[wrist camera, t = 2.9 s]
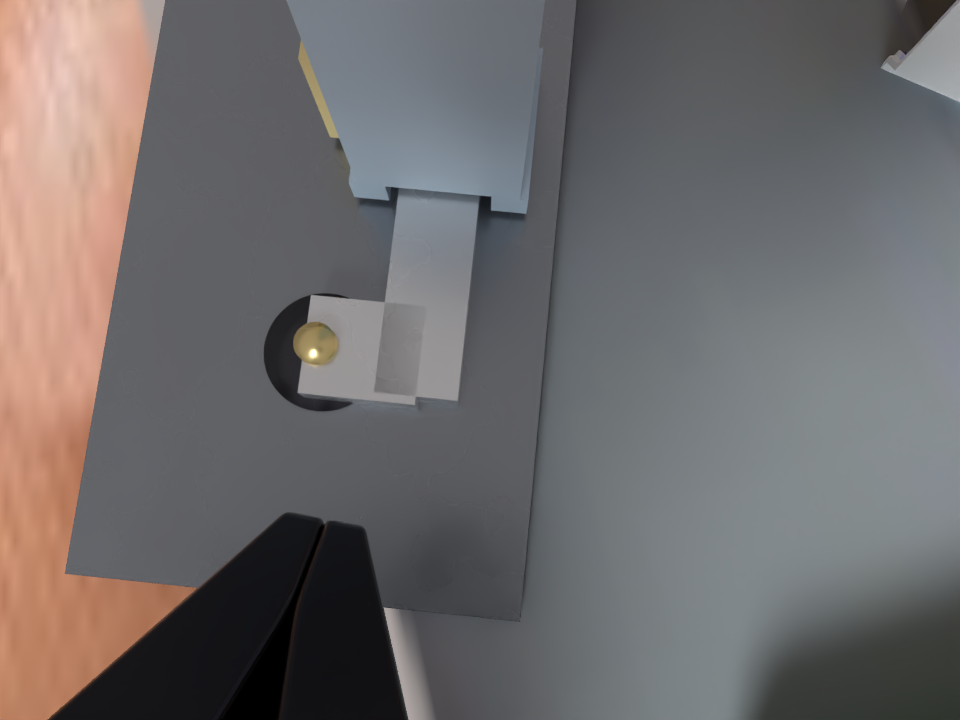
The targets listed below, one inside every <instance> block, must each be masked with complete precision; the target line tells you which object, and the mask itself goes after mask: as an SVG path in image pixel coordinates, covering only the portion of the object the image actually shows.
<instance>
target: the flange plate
mask: <svg viewBox="0 0 960 720" xmlns="http://www.w3.org/2000/svg"><path fill="white" fill-rule="evenodd" d="M576 1H577V0H545V5H544V13H543V21H542V29H541V37H540V45H539V48H543V54H542V64H541V75H540V85H539V95H538V106H537V116H536V126H535V137H534V147H533V157H532V168H531V178H530V188H529V199H528V206H527V212H526V214H523V213H513V212H503V211H492V210H491V197H490V196H480V195H470V194H459V193H449V192H439V191H428V190H418V189H407V188H397V187H391V192H390V200H379V199H368V198H358V197H354V195H353V193H352V190H351V188H350V185H349V175H350V165H349V162H348V160H347V157H346V155H345V152H344V149H343V147H342V144H341V142H340V139H339V138H333V137H330V136H329V133H328V131H327V128H326V126H325V123H324V121H323V118H322V116H321V114H320V111H319V109H318V106H317V104H316V101H315V99H314V96H313V94H312V91H311V89H310V87H309V84H308V82H307V79H306V77H305V74H304V72H303V69H302V67H301V64H300V62H299V60H298V56H299V49H300V43H301V37H300V35H299V32H298V30H297V27H296V24H295V22H294V19H293V17H292V14H291V11H290V9H289V6H288V4H287V1H286V0H165V6H164V12H163V17H162V23H161V29H160V34H159V40H158V46H157V51H156V57H155V63H154V69H153V74H152V80H151V86H150V91H149V97H148V103H147V108H146V114H145V120H144V126H143V131H142V137H141V143H140V148H139V154H138V160H137V165H136V171H135V177H134V183H133V188H132V194H131V200H130V205H129V211H128V217H127V222H126V228H125V234H124V239H123V245H122V251H121V257H120V262H119V268H118V274H117V279H116V285H115V291H114V296H113V302H112V308H111V314H110V319H109V325H108V331H107V336H106V342H105V348H104V353H103V359H102V365H101V371H100V376H99V382H98V388H97V393H96V399H95V405H94V410H93V416H92V422H91V428H90V433H89V439H88V445H87V450H86V456H85V462H84V467H83V473H82V479H81V484H80V490H79V496H78V502H77V507H76V513H75V519H74V524H73V530H72V536H71V541H70V547H69V553H68V559H67V564H66V570H65V574H73V575H82V576H92V577H101V578H111V579H120V580H130V581H139V582H149V583H158V584H168V585H177V586H187V587H196V588H198V587H200V586H201V585H202V584H203V583H204V582H205V581H206V580H208V579H209V578H210V577H211V576H212V575H213V574H214V573H216V572H217V571H218V570H219V569H220V568H221V567H222V566H224V565H225V564H226V563H227V562H228V561H229V560H230V559H232V558H233V557H234V556H235V555H236V554H237V553H238V552H239V551H241V550H242V549H243V548H244V547H245V546H246V545H247V544H249V543H250V542H251V541H252V540H253V539H254V538H255V537H257V536H258V535H259V534H260V533H261V532H262V531H263V530H265V529H266V528H267V527H268V526H269V525H270V524H271V523H273V522H274V521H275V520H276V519H277V518H278V517H279V516H281V515H282V514H284V513H286V512H294V513H300V514H305V515H310V516H315V517H319V518H321V519H322V520H323V522H324V524H325V523H326V522H327V521H329V520H336V521H342V522H347V523H352V524H357V525H361V526H363V527H364V528H365V530H366V532H367V536H368V541H369V545H370V550H371V554H372V559H373V563H374V568H375V572H376V577H377V581H378V586H379V590H380V595H381V599H382V604H383V607H386V608H395V609H405V610H414V611H424V612H433V613H443V614H452V615H462V616H471V617H481V618H490V619H500V620H509V621H519V622H520V617H521V606H522V595H523V584H524V573H525V562H526V551H527V540H528V529H529V518H530V507H531V496H532V485H533V474H534V463H535V452H536V441H537V430H538V419H539V408H540V397H541V386H542V375H543V364H544V353H545V342H546V331H547V320H548V309H549V298H550V287H551V276H552V265H553V254H554V243H555V232H556V221H557V210H558V199H559V188H560V177H561V166H562V155H563V144H564V133H565V122H566V111H567V100H568V89H569V78H570V67H571V56H572V45H573V34H574V23H575V12H576Z"/></svg>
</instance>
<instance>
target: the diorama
mask: <svg viewBox="0 0 960 720" xmlns="http://www.w3.org/2000/svg"><path fill="white" fill-rule="evenodd" d="M910 1H911V4H912V6H913V9H914V11H915V14H916V17H917V19H918V22H919V24H920V27H921V29H922V32H923V34H924V36H923V37H922V39H921V40H920V41H919V42H918V43H917V44H916V45H915V46H914V47H913V48H912V49H911V50H910V51H909V52H908V53H906V52H904V51H901V50H899V51H898V52H897V53H896V54H895V55H891V56H889V57H888V58H887V59H886V60H885V61H884V62H883V64H882V66H881V69H883V70H886V71H888V72H890V73H893V74H895V75H897V76H900V77H902V78H905V79H907V80H909V81H912V82H914V83H916V84H919V85H921V86H923V87H926V88H928V89H930V90H933V91H935V92H937V93H940V94H942V95H945V96H947V97H949V98H952V99H954V100H955V101H956V103H957V106H958V108H959V110H960V0H910Z"/></svg>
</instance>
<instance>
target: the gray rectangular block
mask: <svg viewBox="0 0 960 720" xmlns="http://www.w3.org/2000/svg"><path fill="white" fill-rule="evenodd" d="M286 1H287V4H288V6H289V9H290V11H291V14H292V17H293V19H294V22H295V24H296V27H297V30H298V32H299V35H300V37H301V43H300V49H299V56H298V60H299V62H300V64H301V67H302V69H303V72H304V74H305V77H306V79H307V82H308V84H309V87H310V89H311V91H312V94H313V96H314V99H315V101H316V104H317V106H318V109H319V111H320V114H321V116H322V118H323V121H324V123H325V126H326V128H327V131H328V133H329V136H330V137H333V138H339V139H340V142H341V144H342V147H343V149H344V152H345V155H346V157H347V160H348V162H349V165H350V175H349V185H350V188H351V190H352V193H353V195H354V197H358V198H368V199H379V200H390V192H391V187H397V188H407V189H418V190H428V191H439V192H449V193H459V194H470V195H480V196H490V197H491V210H492V211H503V212H513V213H523V214H526V212H527V206H528V199H529V188H530V178H531V168H532V157H533V147H534V137H535V126H536V116H537V106H538V95H539V85H540V75H541V64H542V54H543V48H539V45H540V37H541V29H542V21H543V13H544V5H545V0H286Z"/></svg>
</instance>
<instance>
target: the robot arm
mask: <svg viewBox="0 0 960 720" xmlns="http://www.w3.org/2000/svg"><path fill="white" fill-rule="evenodd" d="M48 720H408V716H407V711H406V707H405V703H404V698H403V694H402V690H401V684H400V680H399V676H398V671H397V666H396V662H395V657H394V653H393V648H392V644H391V639H390V635H389V631H388V626H387V622H386V617H385V613H384V608H383V604H382V599H381V595H380V590H379V586H378V581H377V577H376V572H375V568H374V563H373V559H372V554H371V550H370V545H369V541H368V536H367V532H366V530H365V528H364V527H363V526H361V525H357V524H352V523H347V522H342V521H336V520H329V521H327V522H326V523H325V524H324V522H323V520H322V519H321V518H319V517H315V516H310V515H305V514H300V513H294V512H286V513H284V514H282V515H281V516H279V517H278V518H277V519H276V520H275V521H274V522H273V523H271V524H270V525H269V526H268V527H267V528H266V529H265V530H263V531H262V532H261V533H260V534H259V535H258V536H257V537H255V538H254V539H253V540H252V541H251V542H250V543H249V544H247V545H246V546H245V547H244V548H243V549H242V550H241V551H239V552H238V553H237V554H236V555H235V556H234V557H233V558H232V559H230V560H229V561H228V562H227V563H226V564H225V565H224V566H222V567H221V568H220V569H219V570H218V571H217V572H216V573H214V574H213V575H212V576H211V577H210V578H209V579H208V580H206V581H205V582H204V583H203V584H202V585H201V586H200V587H198V588H197V589H196V590H195V591H194V592H193V593H192V594H190V595H189V596H188V597H187V598H186V599H185V600H184V601H182V602H181V603H180V604H179V605H178V606H177V607H176V608H174V609H173V610H172V611H171V612H170V613H169V614H168V615H166V616H165V617H164V618H163V619H162V620H161V621H160V622H158V623H157V624H156V625H155V626H154V627H153V628H152V629H150V630H149V631H148V632H147V633H146V634H145V635H144V636H142V637H141V638H140V639H139V640H138V641H137V642H136V643H134V644H133V645H132V646H131V647H130V648H129V649H128V650H126V651H125V652H124V653H123V654H122V655H121V656H120V657H118V658H117V659H116V660H115V661H114V662H113V663H112V664H110V665H109V666H108V667H107V668H106V669H105V670H104V671H102V672H101V673H100V674H99V675H98V676H97V677H96V678H95V679H93V680H92V681H91V682H90V683H89V684H88V685H87V686H85V687H84V688H83V689H82V690H81V691H80V692H79V693H77V694H76V695H75V696H74V697H73V698H72V699H71V700H69V701H68V702H67V703H66V704H65V705H64V706H63V707H61V708H60V709H59V710H58V711H57V712H56V713H55V714H53V715H52V716H51V717H50V718H49V719H48Z"/></svg>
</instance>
